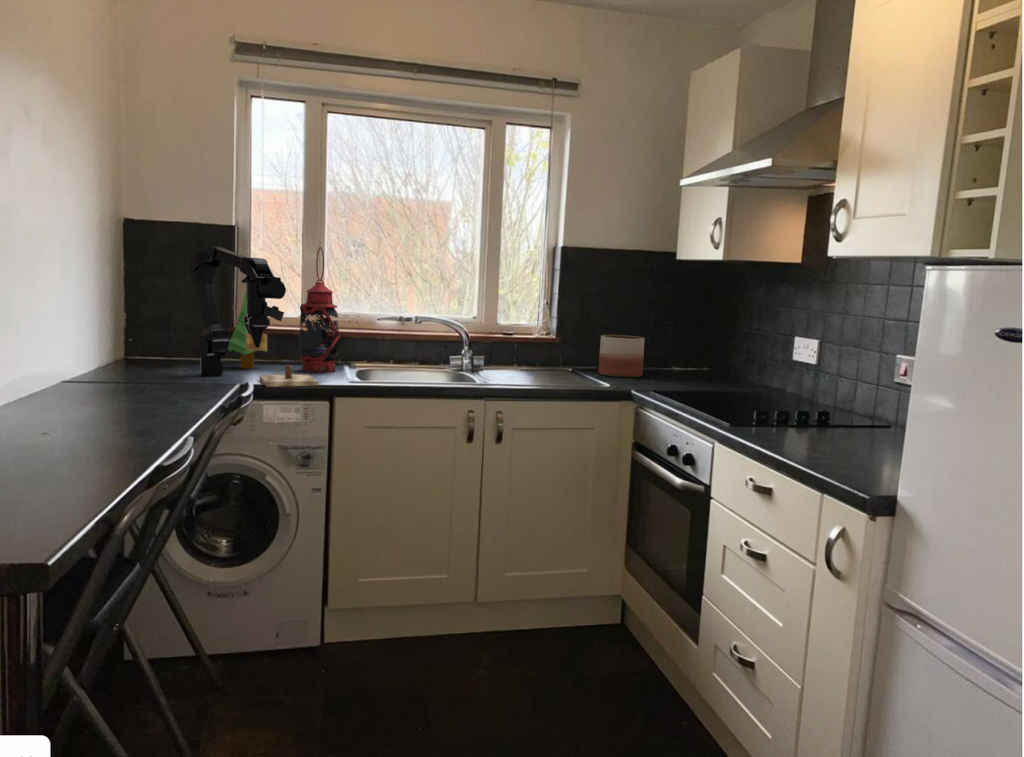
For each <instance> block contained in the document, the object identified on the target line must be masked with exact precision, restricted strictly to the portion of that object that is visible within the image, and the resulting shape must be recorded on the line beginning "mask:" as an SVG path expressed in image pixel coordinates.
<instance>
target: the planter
mask: <svg viewBox="0 0 1024 757" xmlns="http://www.w3.org/2000/svg"><path fill="white" fill-rule="evenodd" d="M599 345H600V346H599V357H598V358H599V359H598V373H599V374H600V375H602V376H606V377H611V378H627V379H628V378H629V379H630V378H632V379H633V378H634V379H635V378H639V377H641V376H643V372H644V357H645V355H644V354H645V337H641V336H635V335H634V336H633V335H623V334H621V335H620V334H602V335H600V344H599Z"/></svg>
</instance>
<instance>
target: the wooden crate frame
mask: <svg viewBox="0 0 1024 757" xmlns="http://www.w3.org/2000/svg"><path fill="white" fill-rule="evenodd" d="M245 349H246V350H247V351H255V352H259V351H262V352H264V351H267V352H268V335H267V333H263V334H262V338H261V343H260V347H259V348H256V347H255V344H254V342H253V339H252V336H251V334H245Z"/></svg>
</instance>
